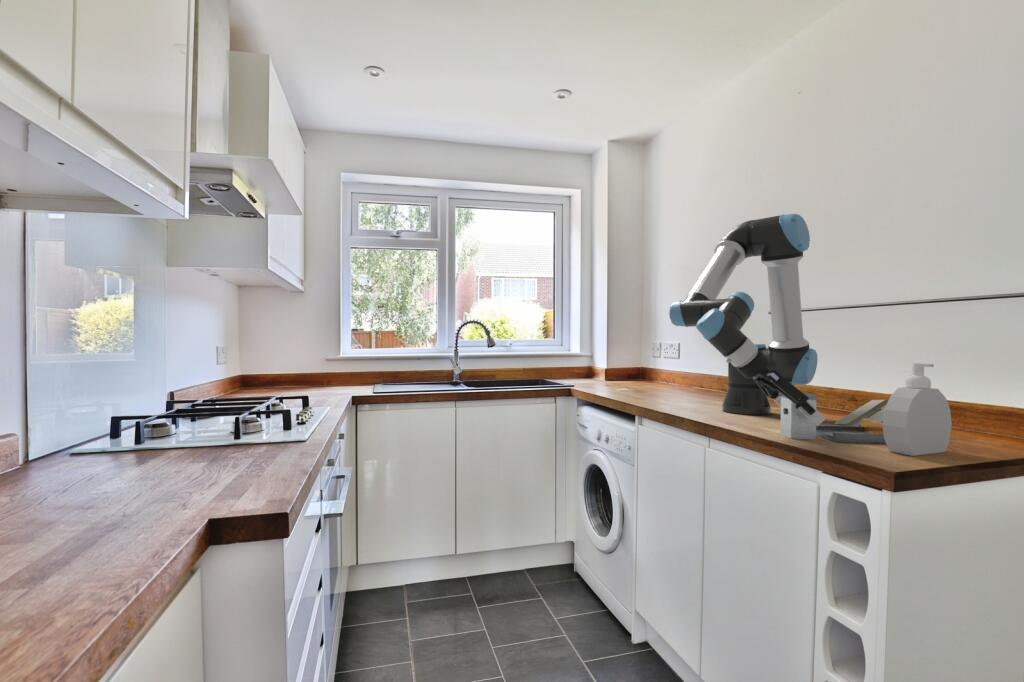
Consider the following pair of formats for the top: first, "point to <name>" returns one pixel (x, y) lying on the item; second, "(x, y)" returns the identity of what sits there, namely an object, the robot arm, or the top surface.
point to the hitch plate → (853, 432)
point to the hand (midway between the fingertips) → (807, 418)
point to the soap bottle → (917, 417)
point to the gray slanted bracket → (865, 413)
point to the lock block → (796, 419)
